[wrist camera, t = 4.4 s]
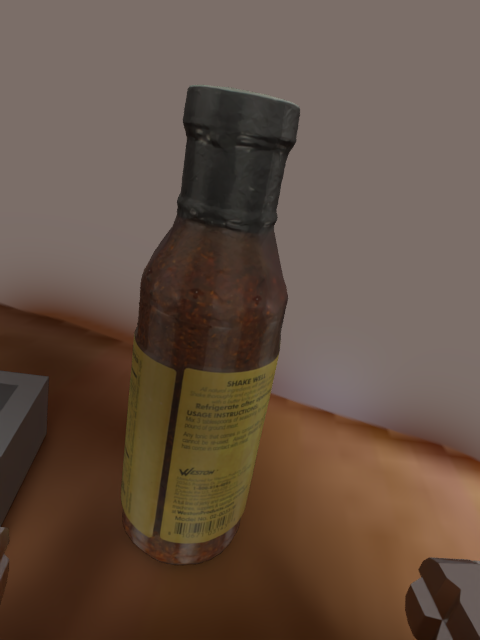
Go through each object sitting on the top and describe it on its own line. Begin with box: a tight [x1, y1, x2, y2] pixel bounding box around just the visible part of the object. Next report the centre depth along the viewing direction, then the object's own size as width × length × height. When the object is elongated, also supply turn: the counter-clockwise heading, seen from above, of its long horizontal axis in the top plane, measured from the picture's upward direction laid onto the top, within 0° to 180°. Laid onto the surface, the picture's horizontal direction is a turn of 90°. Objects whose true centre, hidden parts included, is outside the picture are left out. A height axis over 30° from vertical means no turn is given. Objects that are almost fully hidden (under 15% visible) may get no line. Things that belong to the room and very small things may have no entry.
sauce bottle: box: [121, 85, 300, 565], centre depth 19 cm, size 6×6×20 cm
